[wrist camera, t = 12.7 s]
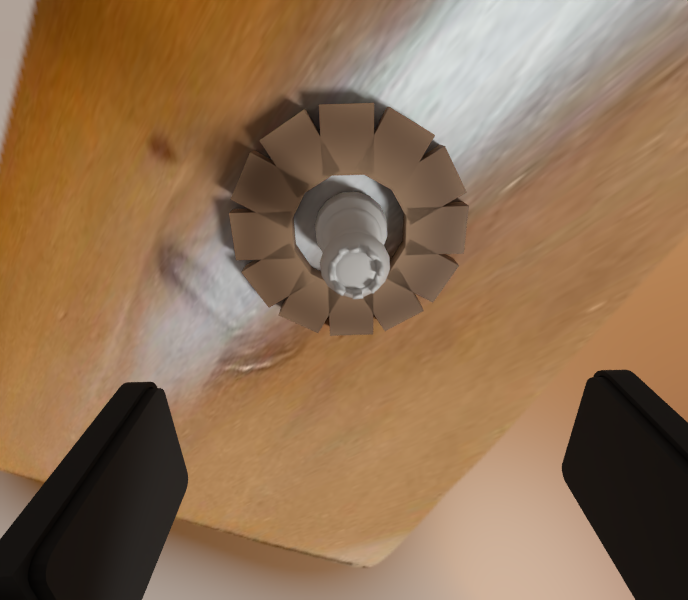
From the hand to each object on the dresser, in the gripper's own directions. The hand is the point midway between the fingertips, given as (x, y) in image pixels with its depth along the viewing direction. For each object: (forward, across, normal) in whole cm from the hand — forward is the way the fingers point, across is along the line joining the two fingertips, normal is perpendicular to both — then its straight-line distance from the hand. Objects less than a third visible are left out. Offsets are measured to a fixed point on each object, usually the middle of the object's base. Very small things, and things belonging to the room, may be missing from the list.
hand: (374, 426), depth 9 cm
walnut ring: (+18, 0, 0) cm, 18 cm away
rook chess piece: (+18, 0, 0) cm, 18 cm away
